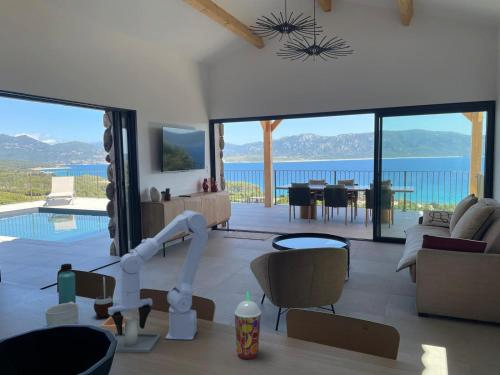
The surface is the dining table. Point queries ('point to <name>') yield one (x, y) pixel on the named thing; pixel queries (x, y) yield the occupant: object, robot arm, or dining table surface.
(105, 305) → the mate gourd
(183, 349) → the dining table surface
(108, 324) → the shallow square box
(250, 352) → the smoothie
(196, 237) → the robot arm
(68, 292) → the beverage bottle
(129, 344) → the peg
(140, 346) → the tray
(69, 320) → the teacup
